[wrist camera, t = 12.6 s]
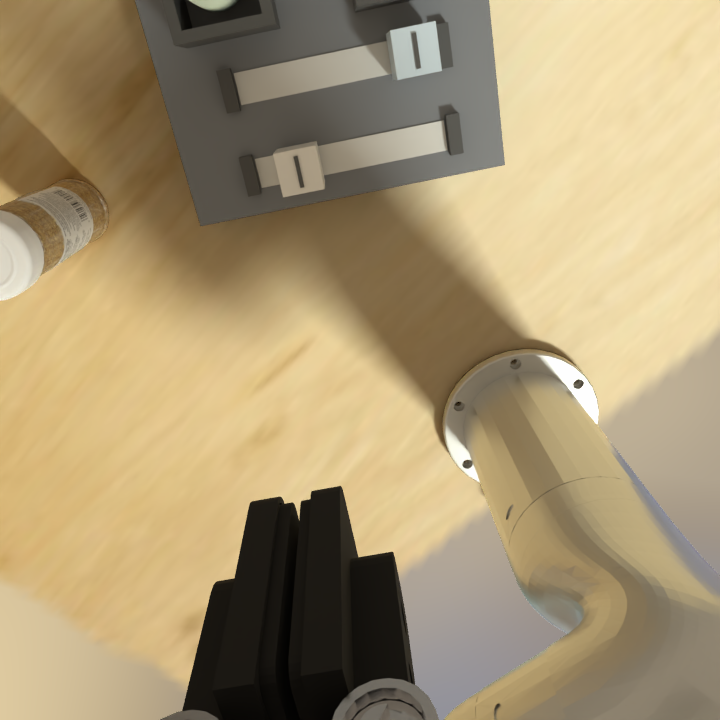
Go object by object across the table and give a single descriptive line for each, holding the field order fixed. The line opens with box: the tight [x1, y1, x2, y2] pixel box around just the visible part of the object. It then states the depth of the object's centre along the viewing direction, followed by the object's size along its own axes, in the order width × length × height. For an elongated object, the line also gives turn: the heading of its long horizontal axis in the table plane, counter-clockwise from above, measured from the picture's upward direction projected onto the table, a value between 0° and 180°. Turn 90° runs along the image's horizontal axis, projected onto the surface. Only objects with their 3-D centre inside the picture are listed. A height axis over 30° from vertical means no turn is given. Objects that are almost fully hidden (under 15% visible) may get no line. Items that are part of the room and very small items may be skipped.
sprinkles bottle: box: [0, 179, 109, 300], centre depth 39 cm, size 5×5×13 cm
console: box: [135, 0, 505, 226], centre depth 39 cm, size 16×20×8 cm
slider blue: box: [386, 21, 442, 80], centre depth 37 cm, size 2×2×3 cm
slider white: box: [273, 141, 325, 197], centre depth 39 cm, size 2×2×3 cm
